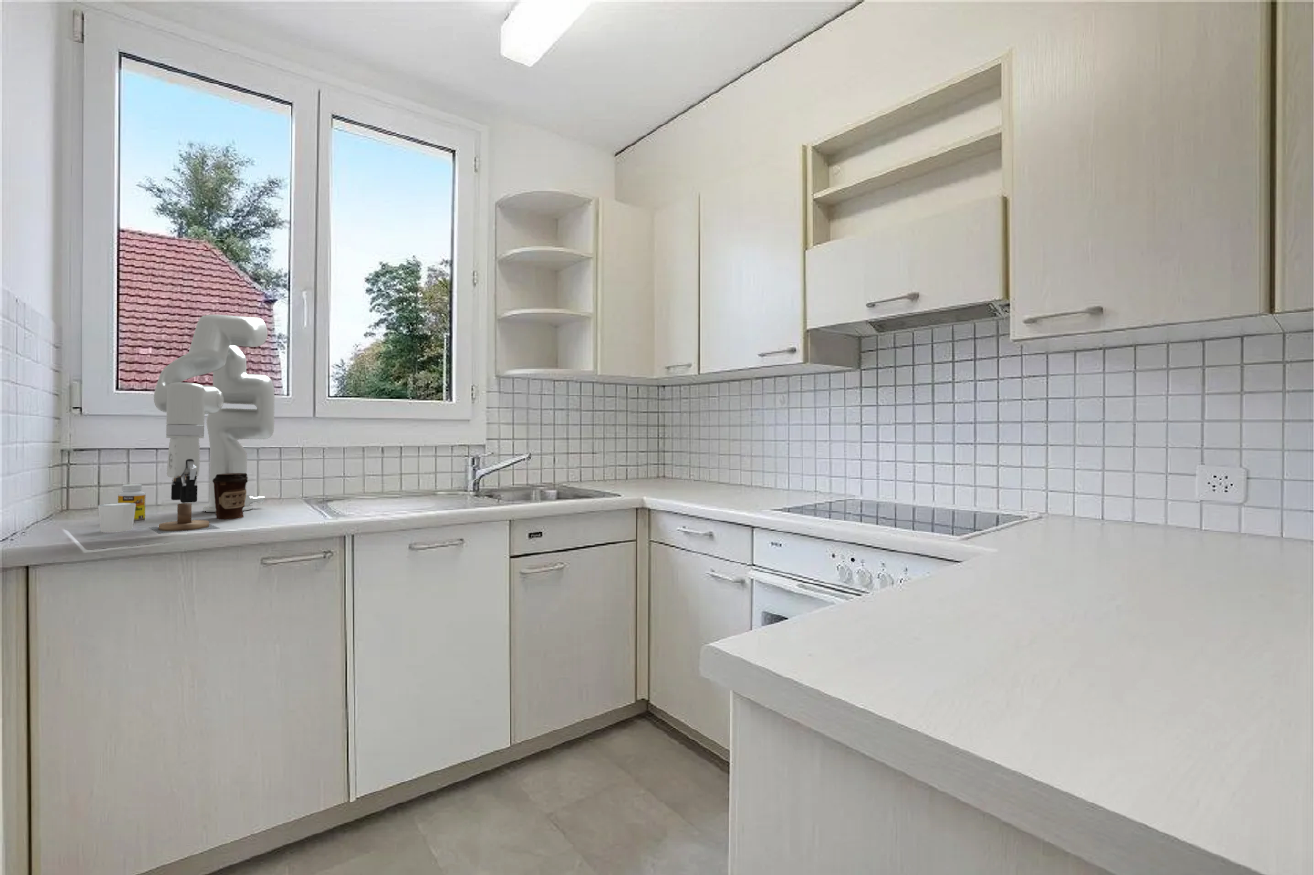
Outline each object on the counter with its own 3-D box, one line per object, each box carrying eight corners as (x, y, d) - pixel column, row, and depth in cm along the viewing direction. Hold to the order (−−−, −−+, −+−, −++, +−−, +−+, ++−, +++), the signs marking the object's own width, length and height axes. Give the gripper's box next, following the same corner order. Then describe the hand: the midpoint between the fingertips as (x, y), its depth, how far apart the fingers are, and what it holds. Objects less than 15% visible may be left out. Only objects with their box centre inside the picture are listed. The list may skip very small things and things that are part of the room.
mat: (207, 525, 162) (207, 522, 162) (219, 530, 154) (219, 528, 154) (148, 529, 153) (148, 527, 153) (159, 535, 145) (159, 533, 145)
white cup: (126, 535, 145) (126, 505, 145) (90, 535, 144) (91, 505, 143) (141, 530, 152) (141, 502, 152) (107, 531, 150) (108, 502, 150)
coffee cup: (255, 519, 174) (256, 473, 174) (224, 522, 166) (225, 474, 166) (236, 516, 177) (237, 472, 177) (205, 520, 170) (205, 473, 170)
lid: (203, 523, 160) (203, 500, 160) (214, 527, 154) (214, 503, 154) (154, 527, 153) (154, 503, 153) (163, 532, 146) (163, 507, 146)
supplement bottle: (118, 525, 159) (118, 485, 159) (116, 522, 163) (117, 484, 163) (146, 523, 163) (146, 484, 162) (144, 521, 167) (144, 483, 166)
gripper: (158, 432, 156) (157, 499, 156) (174, 431, 144) (173, 504, 144) (195, 433, 162) (193, 498, 161) (212, 432, 150) (211, 502, 150)
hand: (183, 501), depth 153 cm, fingers open, 9 cm apart
